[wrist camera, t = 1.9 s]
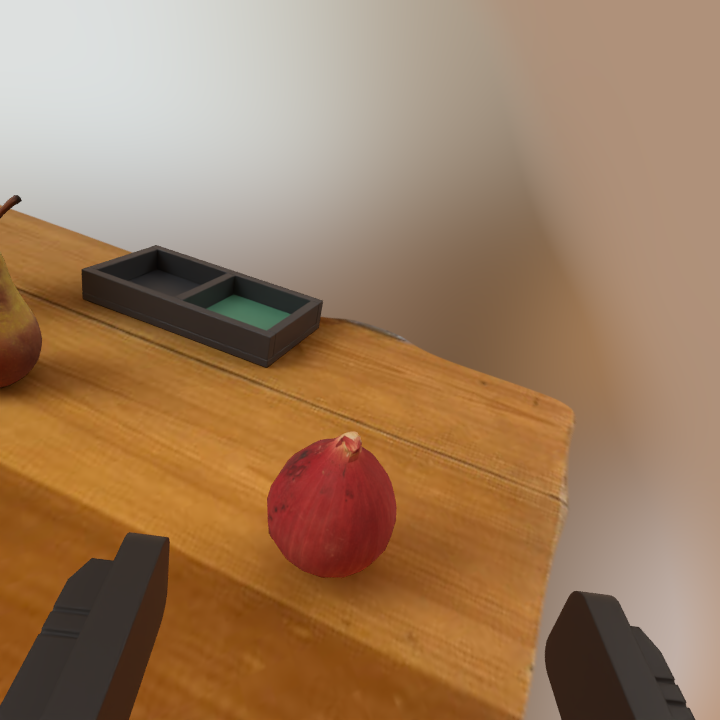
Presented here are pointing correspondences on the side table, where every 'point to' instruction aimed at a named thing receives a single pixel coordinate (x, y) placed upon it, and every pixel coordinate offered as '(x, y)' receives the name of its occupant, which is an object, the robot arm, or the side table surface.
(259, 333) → the tray
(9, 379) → the fruit
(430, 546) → the side table surface
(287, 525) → the onion
